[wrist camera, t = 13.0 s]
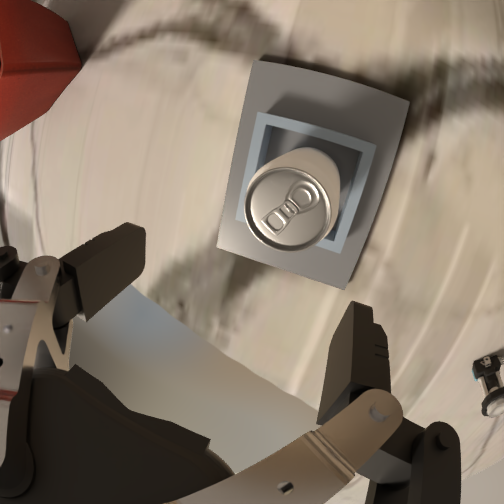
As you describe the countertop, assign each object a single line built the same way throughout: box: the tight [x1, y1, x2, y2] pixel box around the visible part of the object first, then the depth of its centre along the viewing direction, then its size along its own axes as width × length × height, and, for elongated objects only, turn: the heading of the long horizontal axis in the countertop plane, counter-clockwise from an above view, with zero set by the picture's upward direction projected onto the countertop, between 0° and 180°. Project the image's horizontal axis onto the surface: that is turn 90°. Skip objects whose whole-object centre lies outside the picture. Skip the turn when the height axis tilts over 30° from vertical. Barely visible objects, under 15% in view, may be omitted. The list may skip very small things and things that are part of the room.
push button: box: [472, 356, 504, 418], centre depth 26 cm, size 7×5×10 cm
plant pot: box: [0, 0, 81, 141], centre depth 24 cm, size 19×19×17 cm
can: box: [244, 147, 340, 253], centre depth 23 cm, size 6×6×12 cm
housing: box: [217, 60, 410, 290], centre depth 27 cm, size 22×16×4 cm
